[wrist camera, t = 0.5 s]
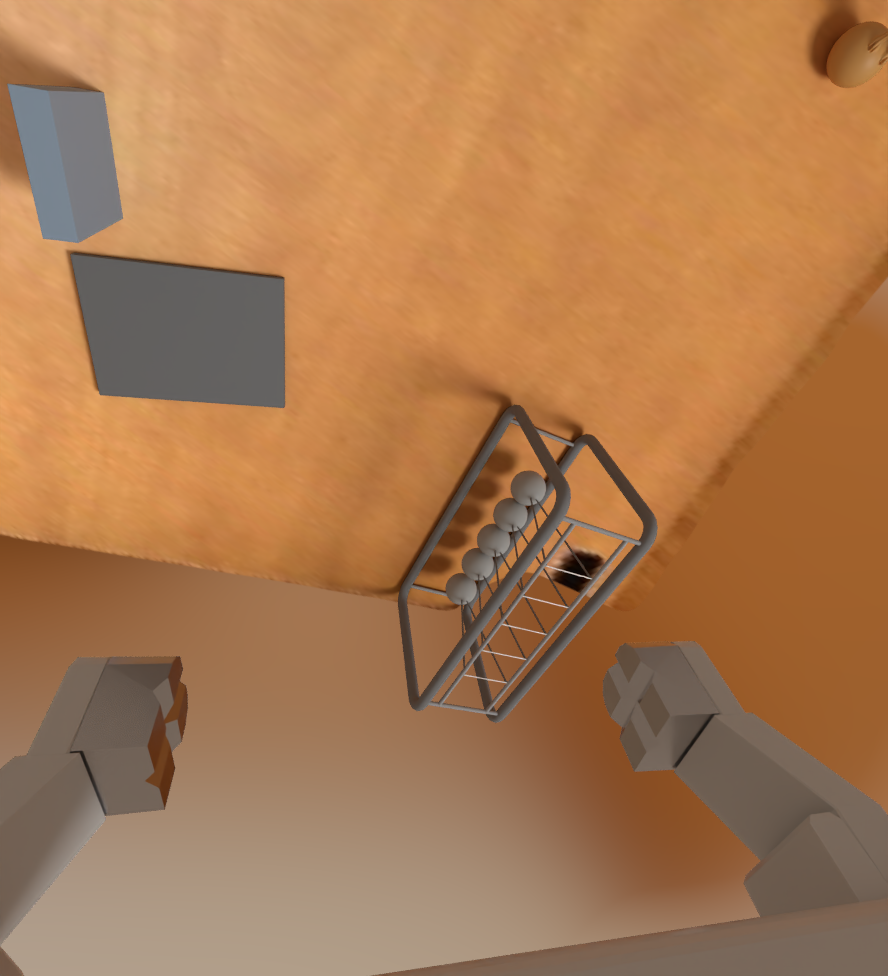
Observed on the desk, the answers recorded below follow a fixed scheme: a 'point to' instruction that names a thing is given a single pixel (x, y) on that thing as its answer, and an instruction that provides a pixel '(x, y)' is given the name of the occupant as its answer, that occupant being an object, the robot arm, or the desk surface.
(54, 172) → the tile
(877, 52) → the figurine
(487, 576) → the newton's cradle
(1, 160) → the desk surface
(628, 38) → the desk surface
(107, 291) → the mat
